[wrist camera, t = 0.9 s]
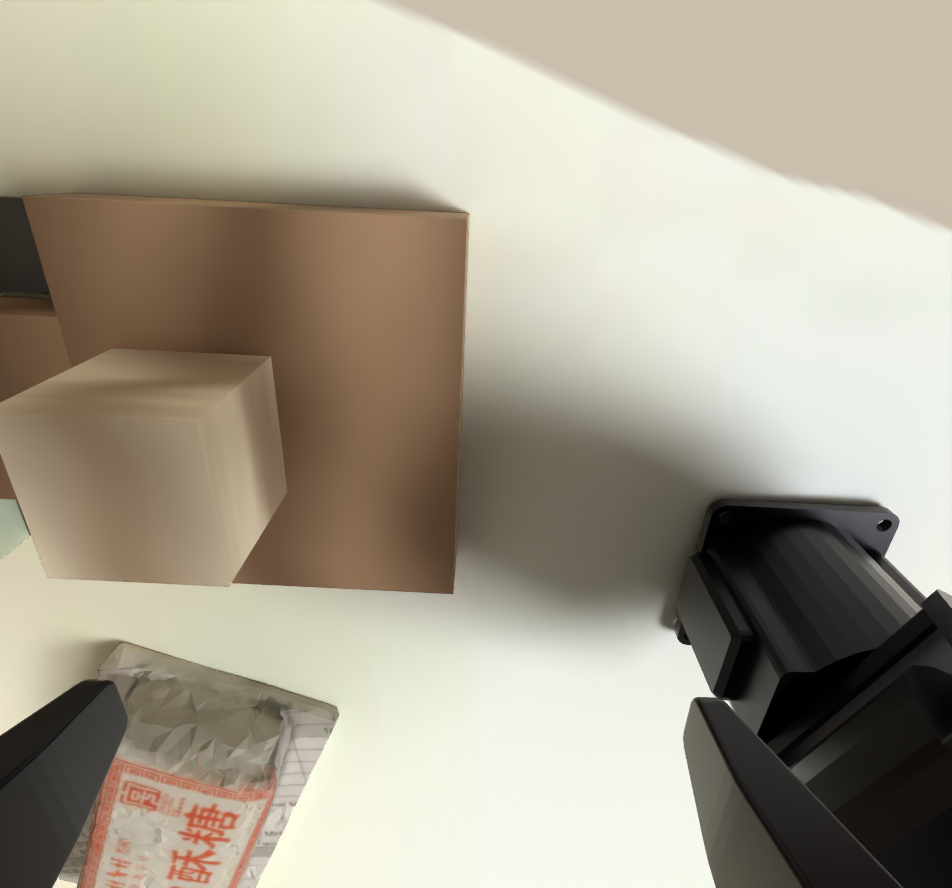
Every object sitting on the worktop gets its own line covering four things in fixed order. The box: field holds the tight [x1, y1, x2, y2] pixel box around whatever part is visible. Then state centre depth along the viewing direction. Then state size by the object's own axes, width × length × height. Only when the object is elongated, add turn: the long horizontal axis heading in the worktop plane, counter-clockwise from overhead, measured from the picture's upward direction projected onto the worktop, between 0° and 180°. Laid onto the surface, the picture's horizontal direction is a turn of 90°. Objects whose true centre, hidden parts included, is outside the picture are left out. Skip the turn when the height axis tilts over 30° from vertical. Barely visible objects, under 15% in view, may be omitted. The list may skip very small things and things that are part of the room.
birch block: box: [0, 348, 287, 587], centre depth 14 cm, size 4×4×4 cm
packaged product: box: [59, 642, 339, 888], centre depth 26 cm, size 18×5×10 cm
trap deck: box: [0, 193, 469, 594], centre depth 17 cm, size 23×12×4 cm, turn 87°
